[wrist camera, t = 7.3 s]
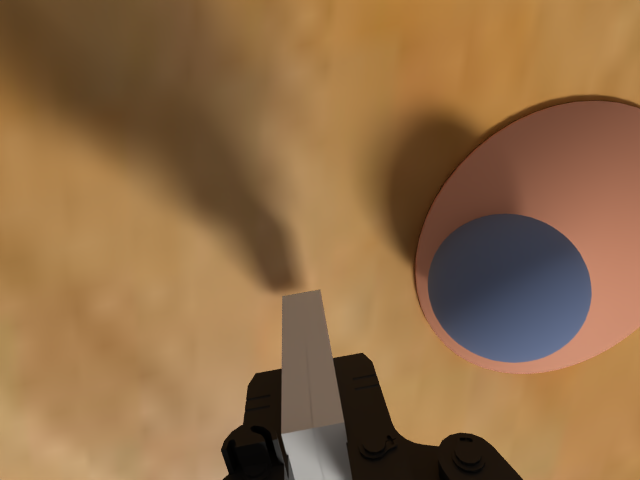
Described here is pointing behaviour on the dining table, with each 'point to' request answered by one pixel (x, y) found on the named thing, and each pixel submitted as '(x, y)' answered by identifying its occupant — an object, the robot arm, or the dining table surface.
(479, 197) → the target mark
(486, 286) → the ball
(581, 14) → the dining table surface
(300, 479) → the robot arm
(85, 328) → the dining table surface
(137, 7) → the dining table surface
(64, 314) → the dining table surface
